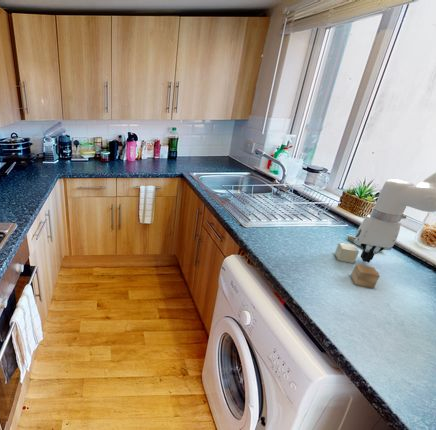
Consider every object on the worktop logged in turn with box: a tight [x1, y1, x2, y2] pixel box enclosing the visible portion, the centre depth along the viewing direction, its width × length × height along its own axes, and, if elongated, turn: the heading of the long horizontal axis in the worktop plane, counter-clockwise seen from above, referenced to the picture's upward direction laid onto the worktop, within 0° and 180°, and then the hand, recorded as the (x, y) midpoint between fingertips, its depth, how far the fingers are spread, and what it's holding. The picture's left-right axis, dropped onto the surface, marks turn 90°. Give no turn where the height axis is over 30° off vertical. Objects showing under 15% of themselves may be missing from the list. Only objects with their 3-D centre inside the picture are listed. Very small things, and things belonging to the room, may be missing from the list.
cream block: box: [334, 242, 360, 264], centre depth 108 cm, size 5×5×5 cm
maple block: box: [350, 263, 381, 289], centre depth 95 cm, size 5×5×5 cm
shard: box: [346, 235, 384, 253], centre depth 118 cm, size 11×8×2 cm
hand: (365, 260), depth 106 cm, fingers closed
